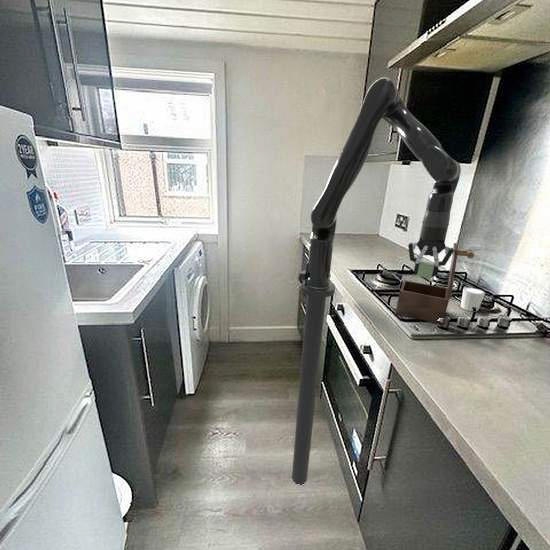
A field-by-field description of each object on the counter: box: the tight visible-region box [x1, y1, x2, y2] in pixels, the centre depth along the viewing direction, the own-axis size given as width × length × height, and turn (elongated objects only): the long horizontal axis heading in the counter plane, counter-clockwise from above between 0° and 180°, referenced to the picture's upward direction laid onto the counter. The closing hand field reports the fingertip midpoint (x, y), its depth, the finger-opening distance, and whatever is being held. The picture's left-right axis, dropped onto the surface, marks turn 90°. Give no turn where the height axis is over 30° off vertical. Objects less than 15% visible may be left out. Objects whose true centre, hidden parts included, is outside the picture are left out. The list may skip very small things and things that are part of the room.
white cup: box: [460, 287, 486, 312], centre depth 111 cm, size 7×7×7 cm
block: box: [416, 260, 435, 279], centre depth 102 cm, size 4×4×4 cm
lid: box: [447, 242, 475, 300], centre depth 97 cm, size 16×13×5 cm
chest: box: [395, 280, 450, 326], centre depth 105 cm, size 15×13×9 cm
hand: (424, 274), depth 103 cm, fingers closed on block, 4 cm apart
